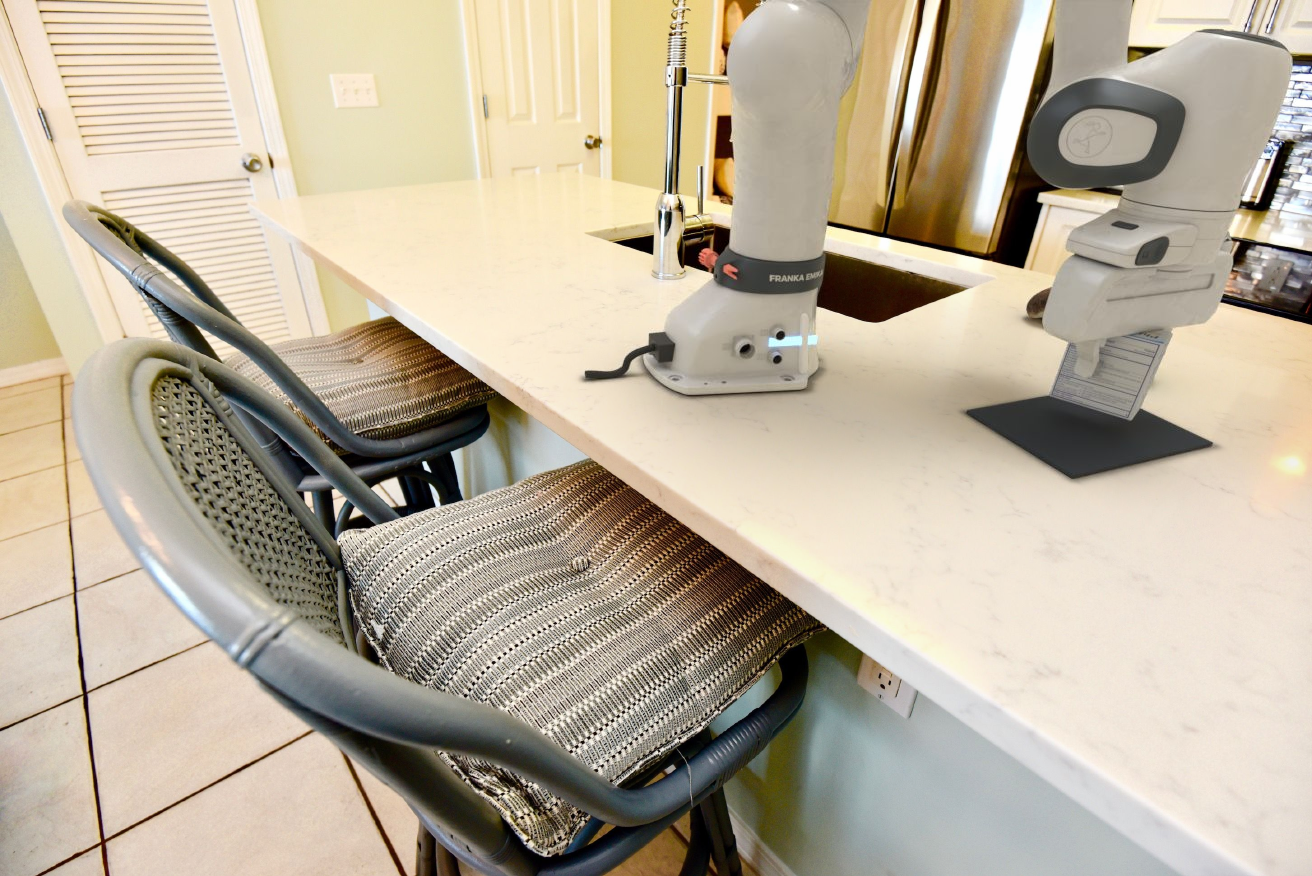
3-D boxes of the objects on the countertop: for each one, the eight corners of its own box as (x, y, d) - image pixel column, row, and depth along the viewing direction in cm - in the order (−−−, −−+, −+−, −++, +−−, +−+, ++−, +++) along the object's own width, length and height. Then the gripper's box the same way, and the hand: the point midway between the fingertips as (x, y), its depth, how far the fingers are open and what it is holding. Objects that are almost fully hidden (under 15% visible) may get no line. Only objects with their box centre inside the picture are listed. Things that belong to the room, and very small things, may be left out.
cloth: (1072, 478, 63) (1073, 475, 63) (965, 413, 75) (966, 409, 74) (1211, 445, 70) (1213, 442, 70) (1094, 389, 81) (1095, 386, 81)
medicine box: (1140, 409, 70) (1175, 331, 66) (1130, 423, 67) (1166, 342, 63) (1060, 385, 75) (1087, 311, 70) (1047, 397, 72) (1075, 320, 67)
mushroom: (1099, 315, 95) (1088, 274, 96) (1037, 330, 98) (1027, 290, 98) (1085, 325, 102) (1075, 286, 103) (1028, 339, 105) (1018, 301, 106)
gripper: (1204, 221, 68) (1150, 347, 75) (1055, 233, 61) (1011, 370, 68) (1273, 235, 63) (1208, 370, 69) (1118, 250, 56) (1063, 396, 63)
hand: (1109, 370), depth 69 cm, fingers closed on medicine box, 6 cm apart
